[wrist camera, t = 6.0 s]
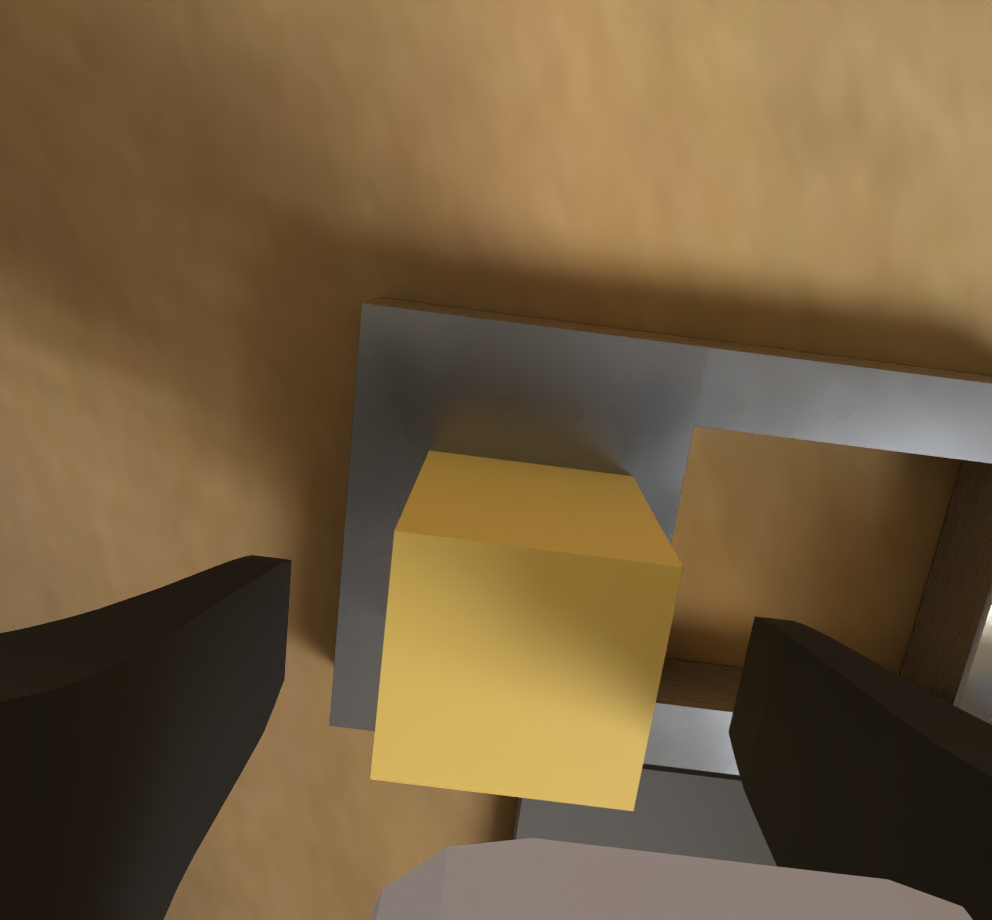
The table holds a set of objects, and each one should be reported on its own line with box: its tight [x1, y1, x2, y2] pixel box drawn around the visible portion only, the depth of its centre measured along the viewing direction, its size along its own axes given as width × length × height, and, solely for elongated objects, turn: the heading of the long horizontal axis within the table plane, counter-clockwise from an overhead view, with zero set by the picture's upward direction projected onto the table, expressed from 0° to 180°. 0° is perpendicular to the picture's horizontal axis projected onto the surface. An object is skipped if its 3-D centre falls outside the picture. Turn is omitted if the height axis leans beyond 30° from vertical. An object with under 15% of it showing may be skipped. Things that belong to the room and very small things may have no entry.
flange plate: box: [330, 298, 992, 775], centre depth 16 cm, size 14×9×2 cm, turn 83°
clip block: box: [370, 451, 683, 811], centre depth 13 cm, size 4×4×4 cm
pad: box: [512, 764, 777, 866], centre depth 19 cm, size 7×7×1 cm
